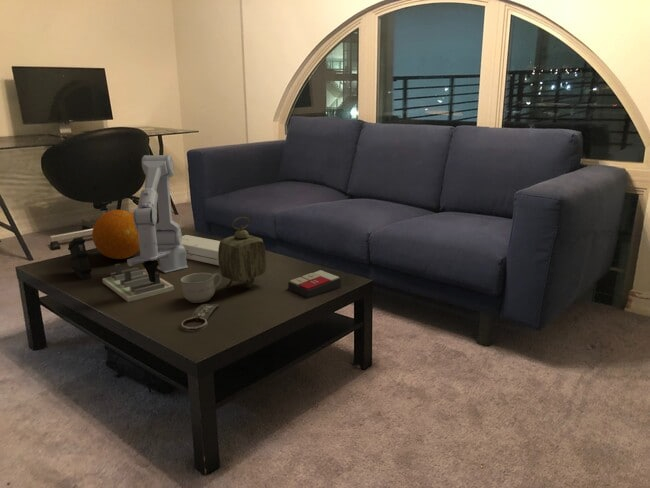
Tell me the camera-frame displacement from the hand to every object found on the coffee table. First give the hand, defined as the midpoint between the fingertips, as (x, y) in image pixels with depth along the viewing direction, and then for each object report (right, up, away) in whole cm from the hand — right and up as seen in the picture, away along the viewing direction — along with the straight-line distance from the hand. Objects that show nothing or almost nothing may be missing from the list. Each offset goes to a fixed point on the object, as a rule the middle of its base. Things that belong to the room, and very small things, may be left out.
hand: (152, 281), depth 186 cm
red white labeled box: (+55, -3, +3) cm, 55 cm away
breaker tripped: (+1, -2, +2) cm, 3 cm away
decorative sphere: (-24, +7, +38) cm, 46 cm away
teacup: (+19, -6, -5) cm, 20 cm away
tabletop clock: (+31, -2, +5) cm, 31 cm away
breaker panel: (-7, -2, +7) cm, 10 cm away
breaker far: (-15, +1, +11) cm, 19 cm away
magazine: (-32, +1, +19) cm, 38 cm away
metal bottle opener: (+21, -10, -20) cm, 31 cm away
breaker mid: (-9, -1, +4) cm, 10 cm away
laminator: (+11, +7, +39) cm, 41 cm away
